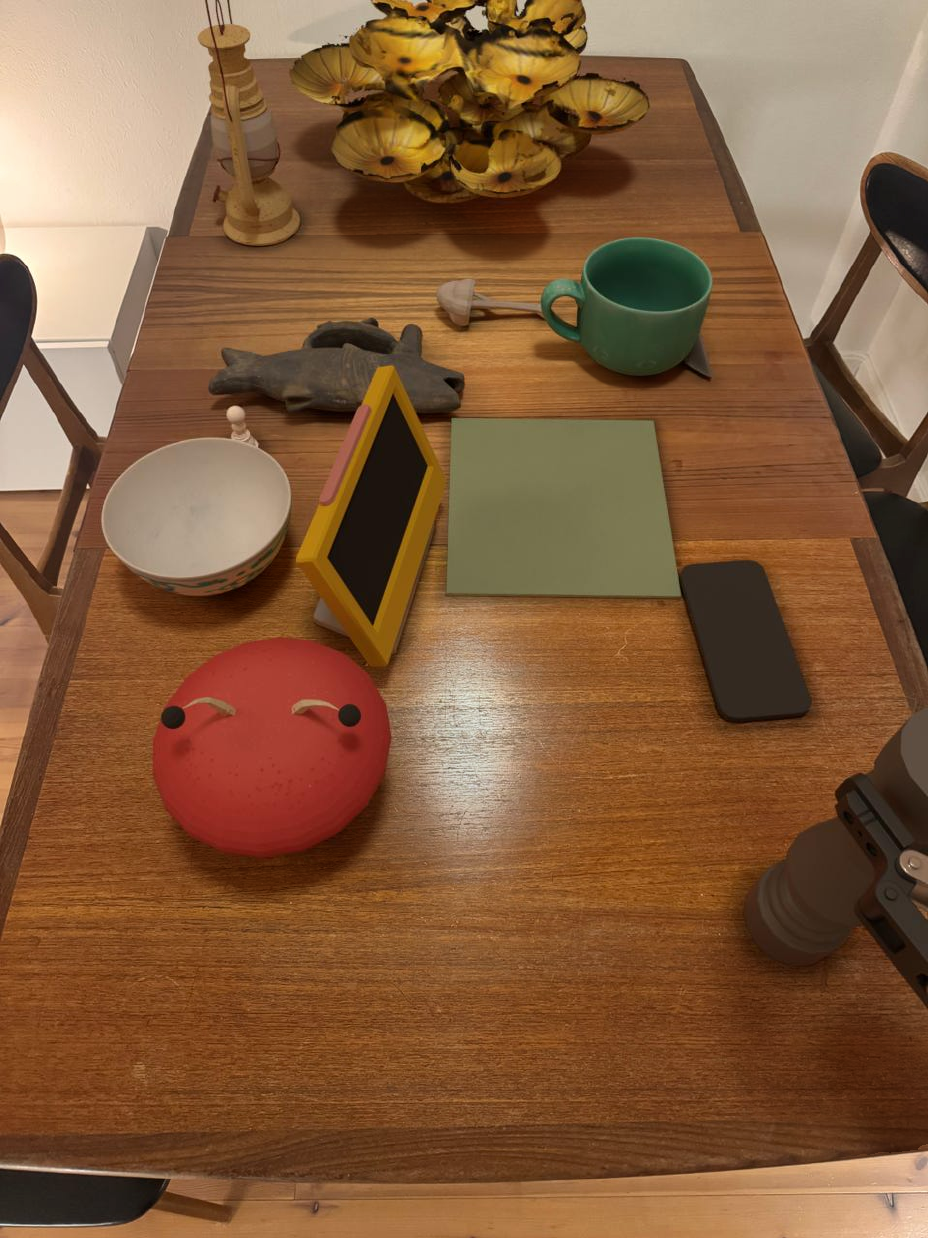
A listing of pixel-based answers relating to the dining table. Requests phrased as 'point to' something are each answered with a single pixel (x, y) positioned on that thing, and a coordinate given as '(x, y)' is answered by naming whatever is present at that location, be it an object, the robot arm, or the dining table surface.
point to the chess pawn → (239, 426)
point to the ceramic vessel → (341, 370)
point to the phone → (744, 642)
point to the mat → (558, 510)
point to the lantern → (245, 141)
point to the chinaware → (199, 515)
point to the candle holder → (837, 861)
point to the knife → (698, 358)
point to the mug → (635, 304)
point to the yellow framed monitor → (374, 522)
